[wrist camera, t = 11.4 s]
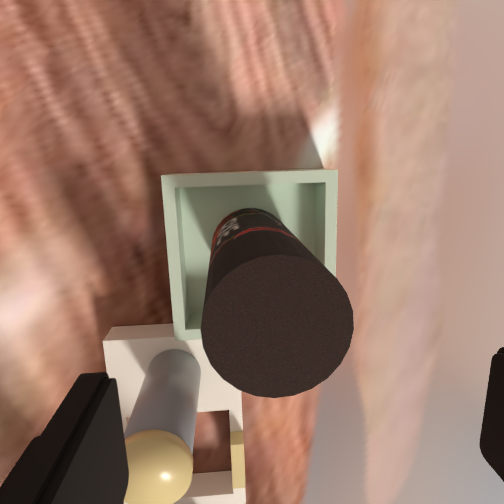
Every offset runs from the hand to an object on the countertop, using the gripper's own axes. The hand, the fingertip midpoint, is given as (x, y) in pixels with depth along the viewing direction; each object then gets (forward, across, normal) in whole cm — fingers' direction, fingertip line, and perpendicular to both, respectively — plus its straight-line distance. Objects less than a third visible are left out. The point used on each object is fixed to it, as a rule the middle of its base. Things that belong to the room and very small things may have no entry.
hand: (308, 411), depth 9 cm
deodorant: (+21, 0, +1) cm, 21 cm away
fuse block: (+21, +6, +18) cm, 28 cm away
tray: (+21, 0, +1) cm, 21 cm away
